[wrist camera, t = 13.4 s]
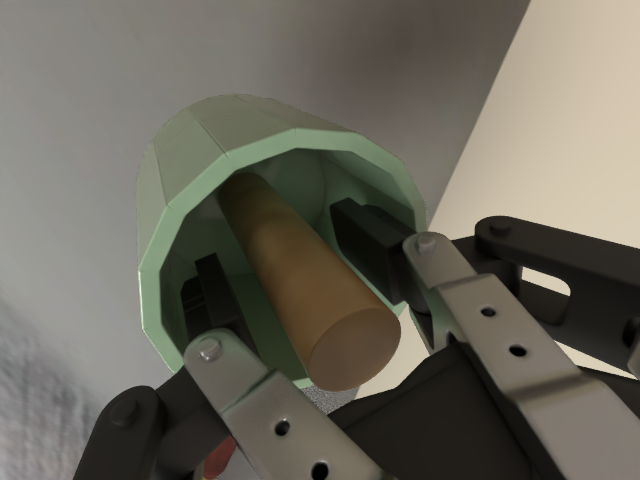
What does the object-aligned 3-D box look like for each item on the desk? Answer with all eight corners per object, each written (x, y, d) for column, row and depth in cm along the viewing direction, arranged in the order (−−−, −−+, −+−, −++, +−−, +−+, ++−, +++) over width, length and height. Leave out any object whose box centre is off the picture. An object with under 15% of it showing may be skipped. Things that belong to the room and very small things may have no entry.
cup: (188, 303, 19) (217, 438, 12) (92, 133, 14) (58, 210, 8) (341, 235, 21) (433, 320, 15) (305, 67, 16) (418, 84, 10)
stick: (229, 231, 17) (320, 409, 9) (210, 184, 16) (295, 341, 8) (277, 211, 18) (406, 360, 10) (263, 164, 17) (396, 289, 8)
